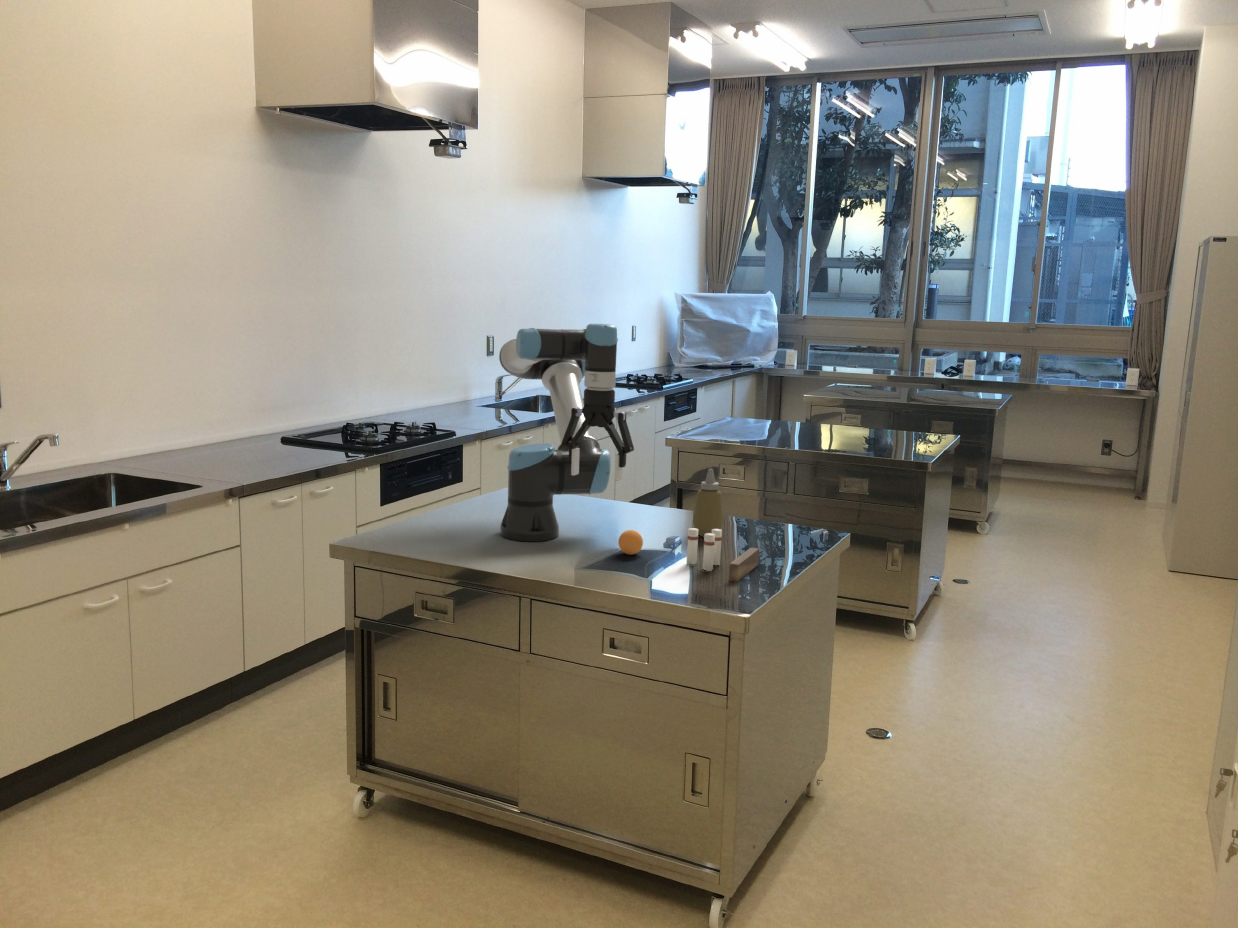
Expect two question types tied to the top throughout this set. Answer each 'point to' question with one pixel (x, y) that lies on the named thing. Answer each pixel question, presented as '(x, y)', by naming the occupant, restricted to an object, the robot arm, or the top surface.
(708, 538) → the pin
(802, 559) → the top surface
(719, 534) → the pin
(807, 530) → the top surface
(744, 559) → the wall
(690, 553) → the front pin
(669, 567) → the top surface
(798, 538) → the top surface
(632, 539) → the orange ball
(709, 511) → the squeeze bottle
